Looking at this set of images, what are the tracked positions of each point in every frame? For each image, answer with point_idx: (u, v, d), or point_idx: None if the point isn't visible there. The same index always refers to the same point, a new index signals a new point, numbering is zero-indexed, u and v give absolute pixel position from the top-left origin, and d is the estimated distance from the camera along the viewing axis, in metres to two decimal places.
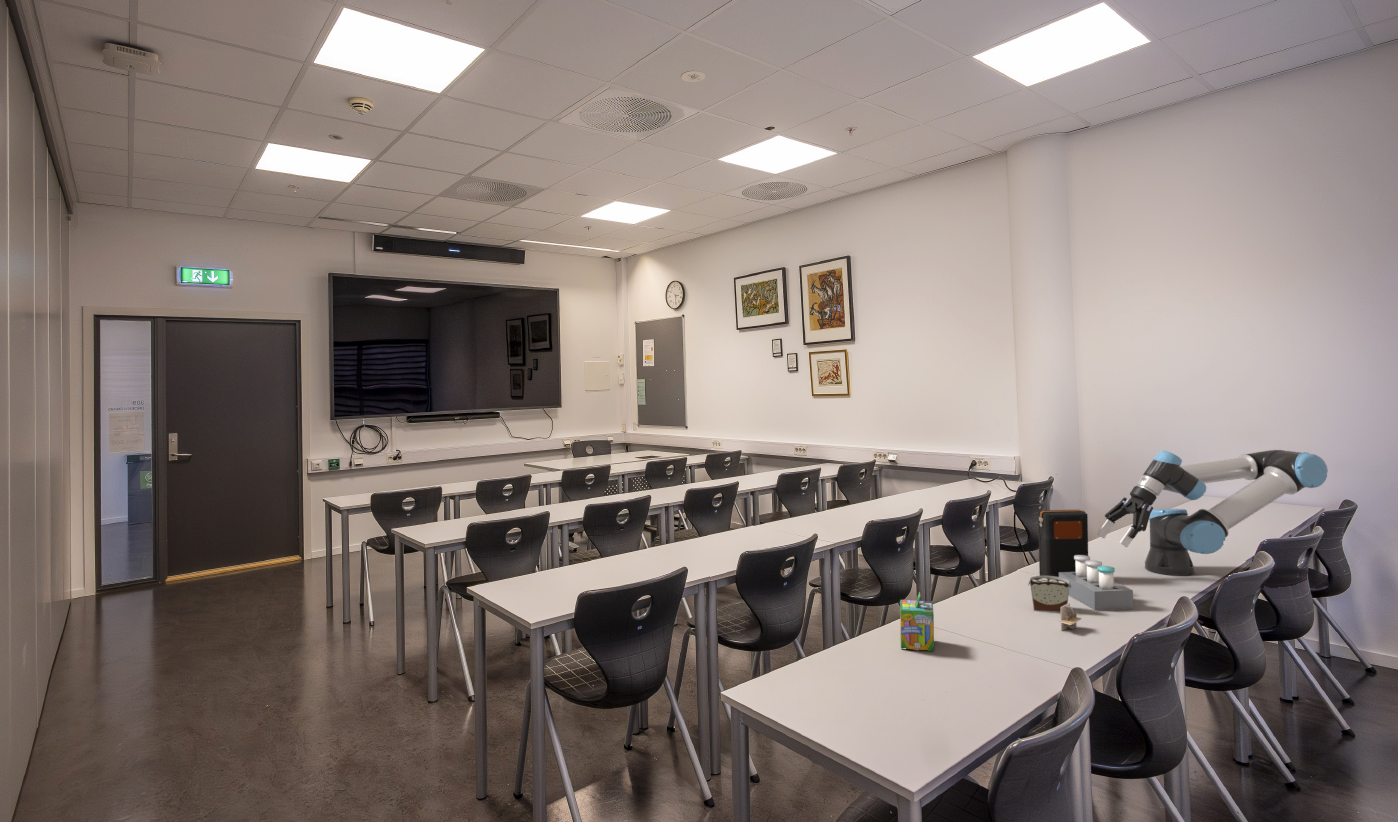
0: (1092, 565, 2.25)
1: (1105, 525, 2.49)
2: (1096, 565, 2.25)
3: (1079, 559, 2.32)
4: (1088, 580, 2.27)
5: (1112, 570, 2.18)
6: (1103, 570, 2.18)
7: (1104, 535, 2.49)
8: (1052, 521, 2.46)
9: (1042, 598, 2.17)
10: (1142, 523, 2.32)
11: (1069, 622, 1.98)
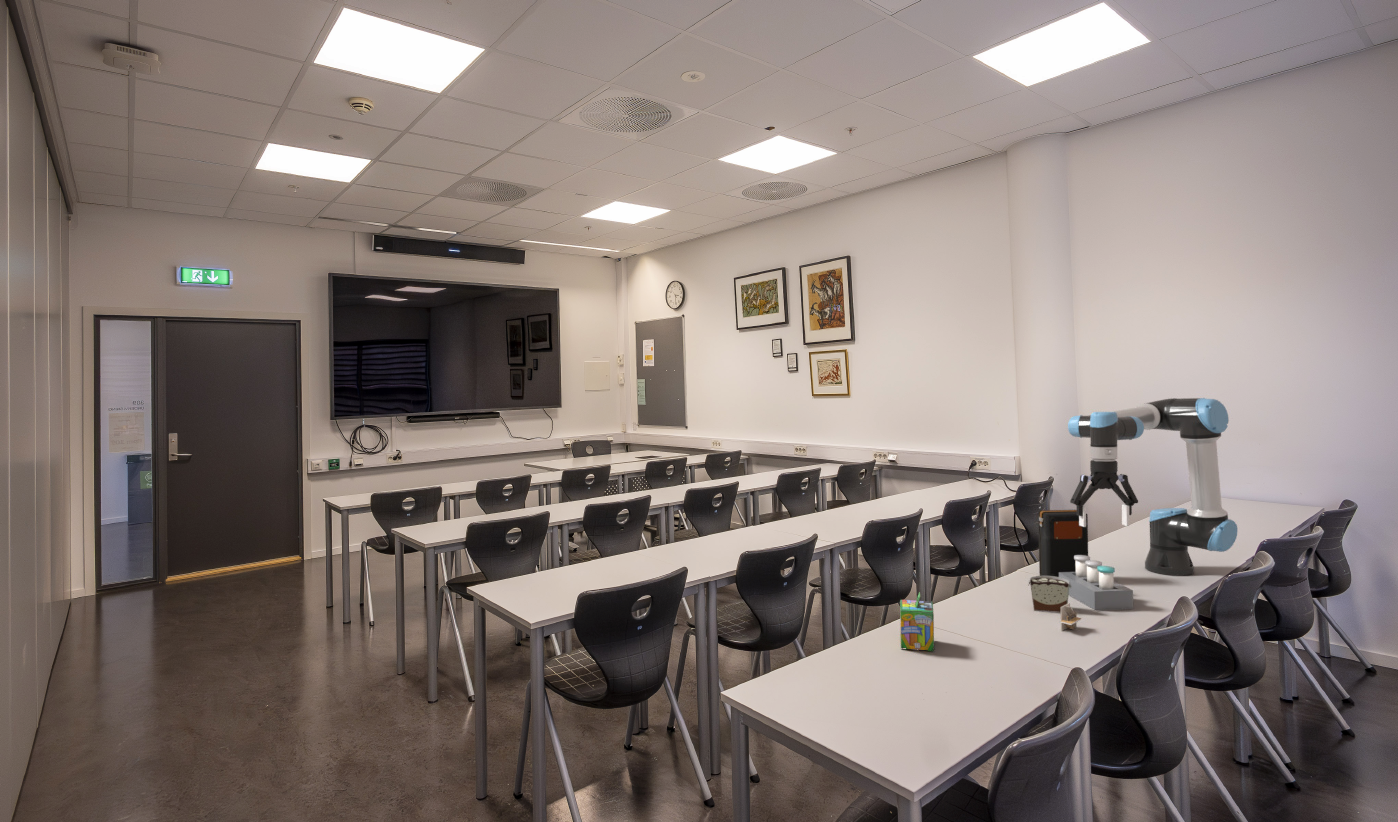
0: (1092, 565, 2.25)
1: None
2: (1096, 565, 2.25)
3: (1079, 559, 2.32)
4: (1088, 580, 2.27)
5: (1112, 570, 2.18)
6: (1103, 570, 2.18)
7: None
8: (1052, 521, 2.46)
9: (1042, 598, 2.17)
10: None
11: (1069, 622, 1.98)
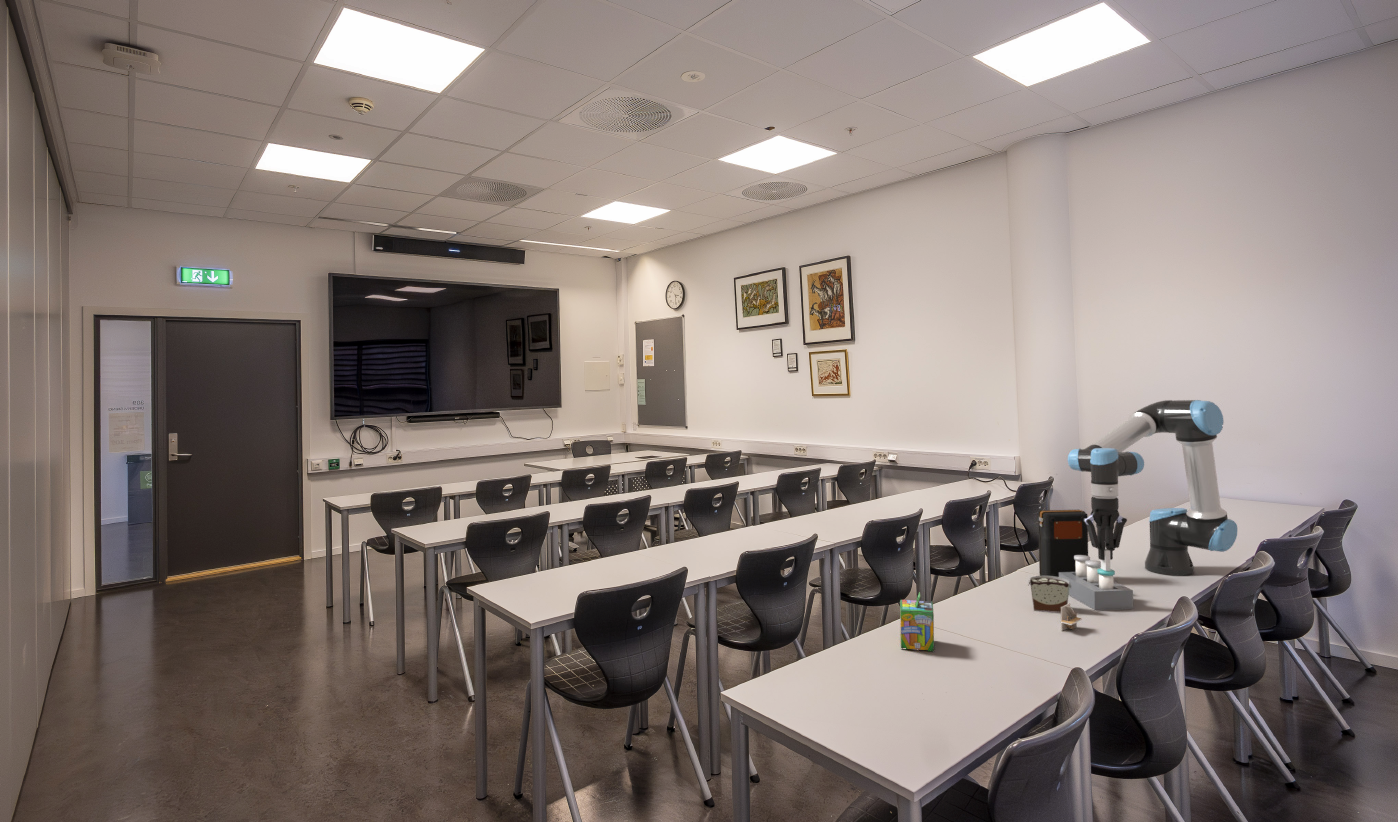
0: (1092, 565, 2.25)
1: None
2: (1096, 565, 2.25)
3: (1079, 559, 2.32)
4: (1088, 580, 2.27)
5: (1112, 573, 2.18)
6: (1103, 573, 2.18)
7: None
8: (1052, 521, 2.46)
9: (1042, 598, 2.17)
10: None
11: (1069, 622, 1.98)
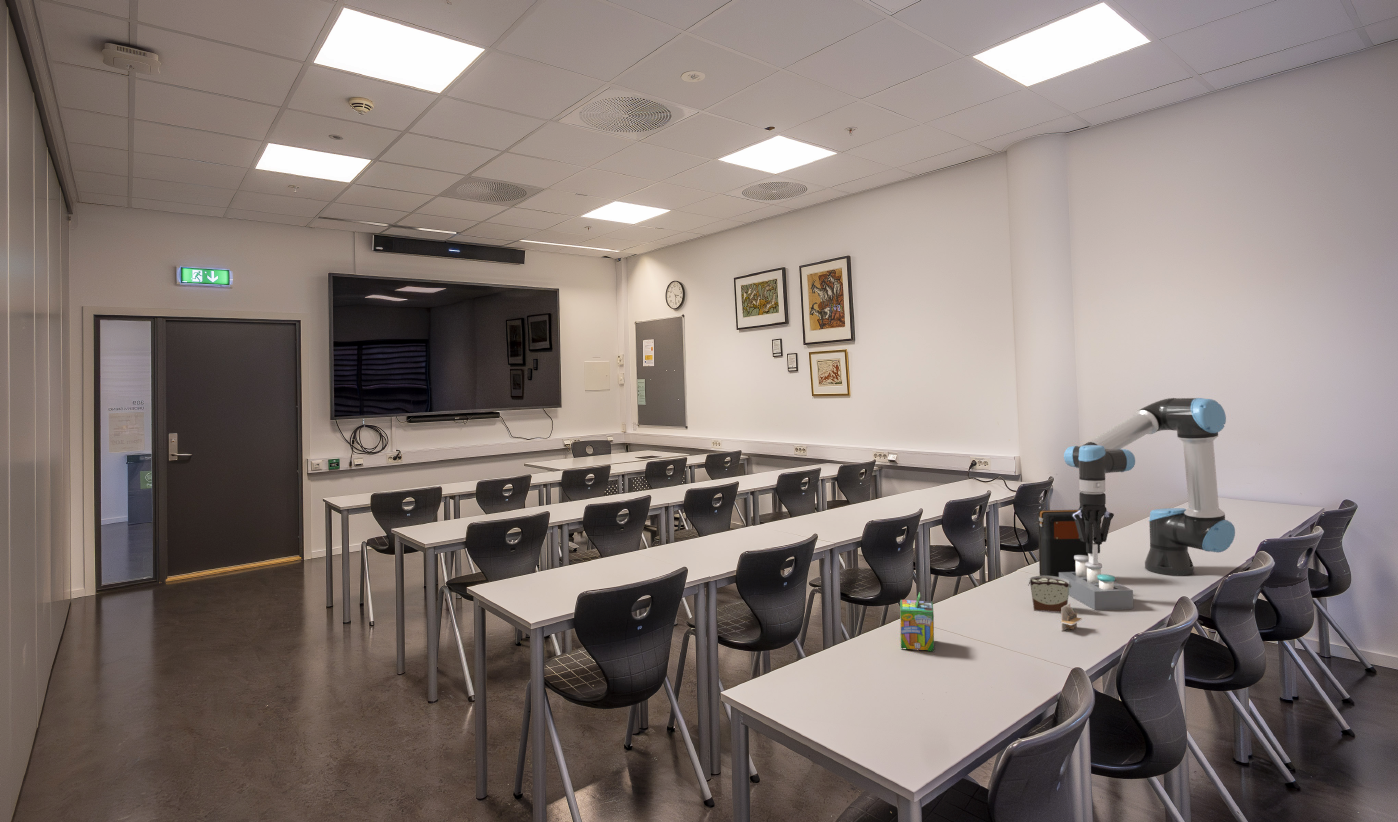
0: (1092, 567, 2.25)
1: None
2: (1096, 567, 2.25)
3: (1079, 559, 2.32)
4: None
5: (1112, 579, 2.18)
6: (1103, 579, 2.18)
7: None
8: (1052, 521, 2.46)
9: (1042, 598, 2.17)
10: None
11: (1070, 622, 1.98)
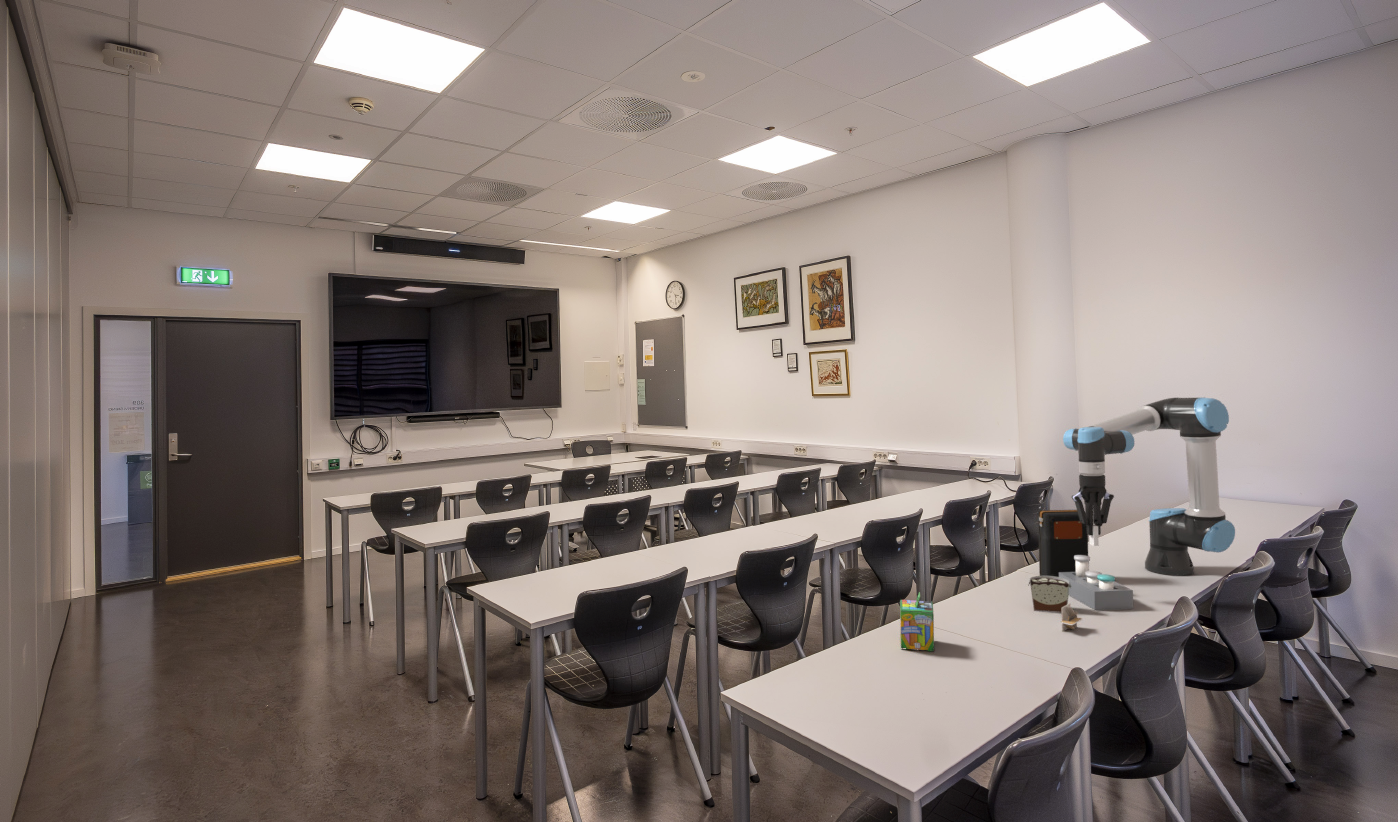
0: (1092, 576, 2.25)
1: None
2: (1096, 576, 2.25)
3: (1079, 559, 2.32)
4: None
5: (1112, 579, 2.18)
6: (1103, 579, 2.18)
7: None
8: (1052, 521, 2.46)
9: (1042, 598, 2.17)
10: None
11: (1070, 622, 1.98)
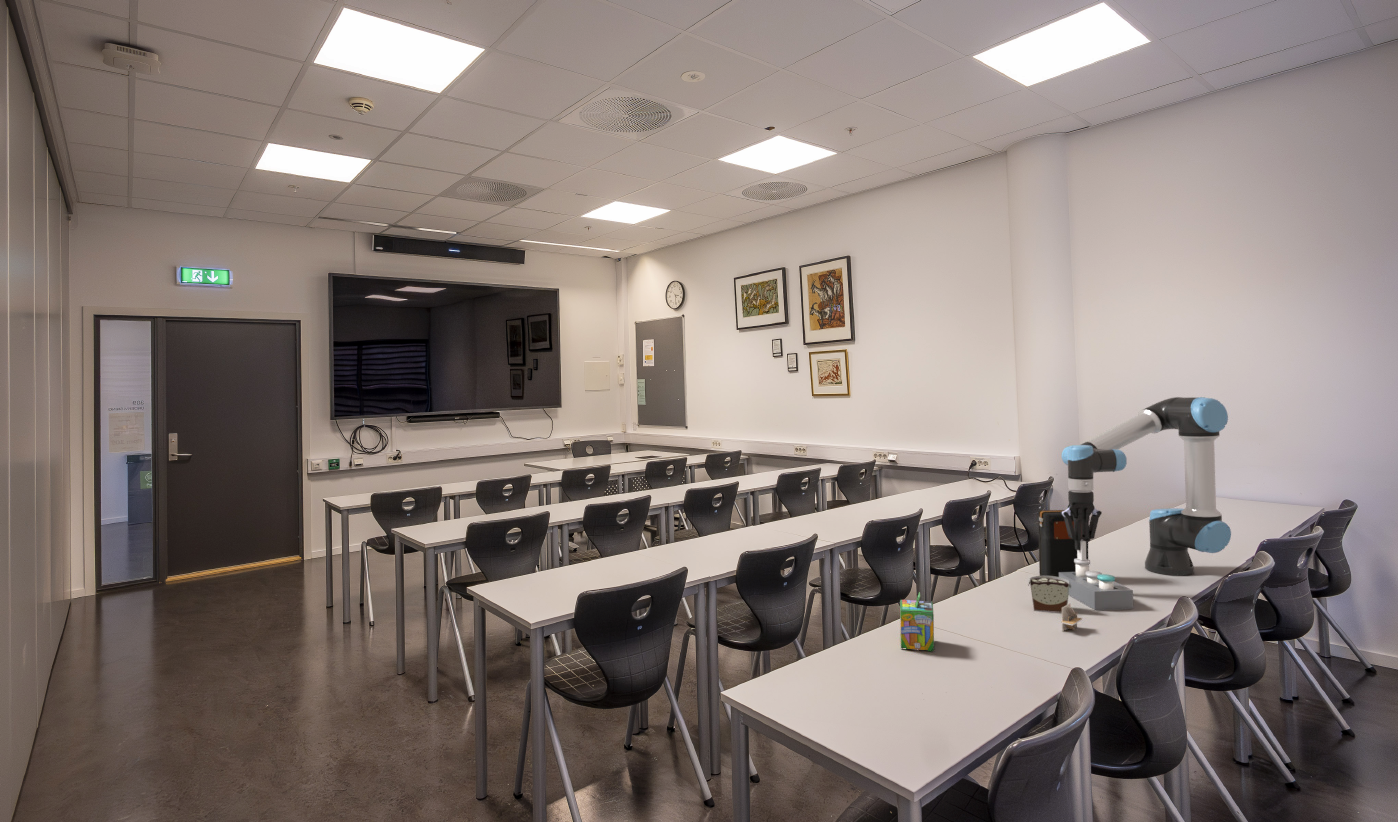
0: (1092, 576, 2.25)
1: None
2: (1096, 576, 2.25)
3: (1079, 562, 2.32)
4: None
5: (1112, 579, 2.18)
6: (1103, 579, 2.18)
7: None
8: (1052, 521, 2.46)
9: (1042, 598, 2.17)
10: None
11: (1070, 623, 1.98)
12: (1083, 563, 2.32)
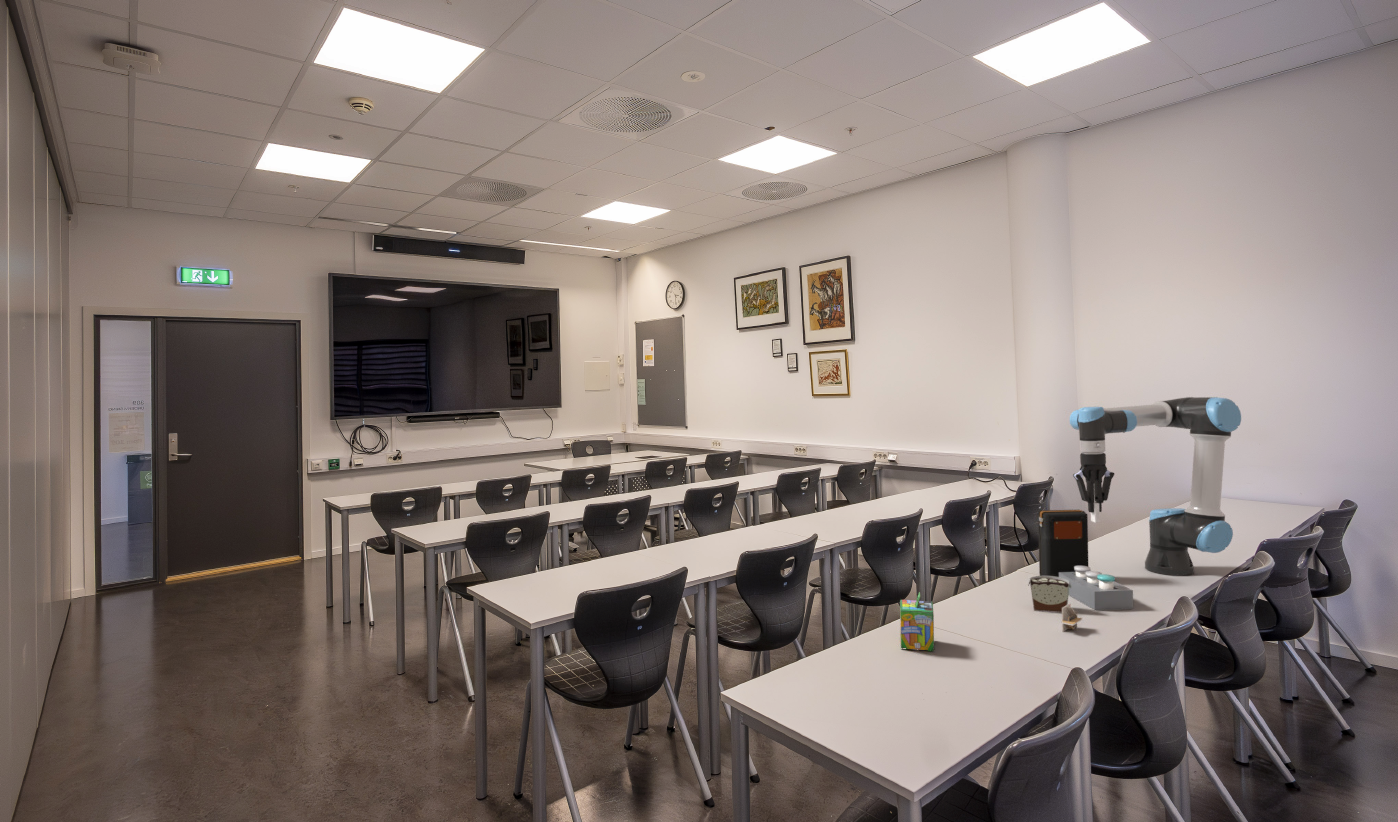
0: (1092, 576, 2.25)
1: None
2: (1096, 576, 2.25)
3: (1079, 570, 2.32)
4: None
5: (1112, 579, 2.18)
6: (1103, 579, 2.18)
7: None
8: (1052, 521, 2.46)
9: (1042, 598, 2.17)
10: None
11: (1071, 623, 1.98)
12: (1083, 570, 2.32)
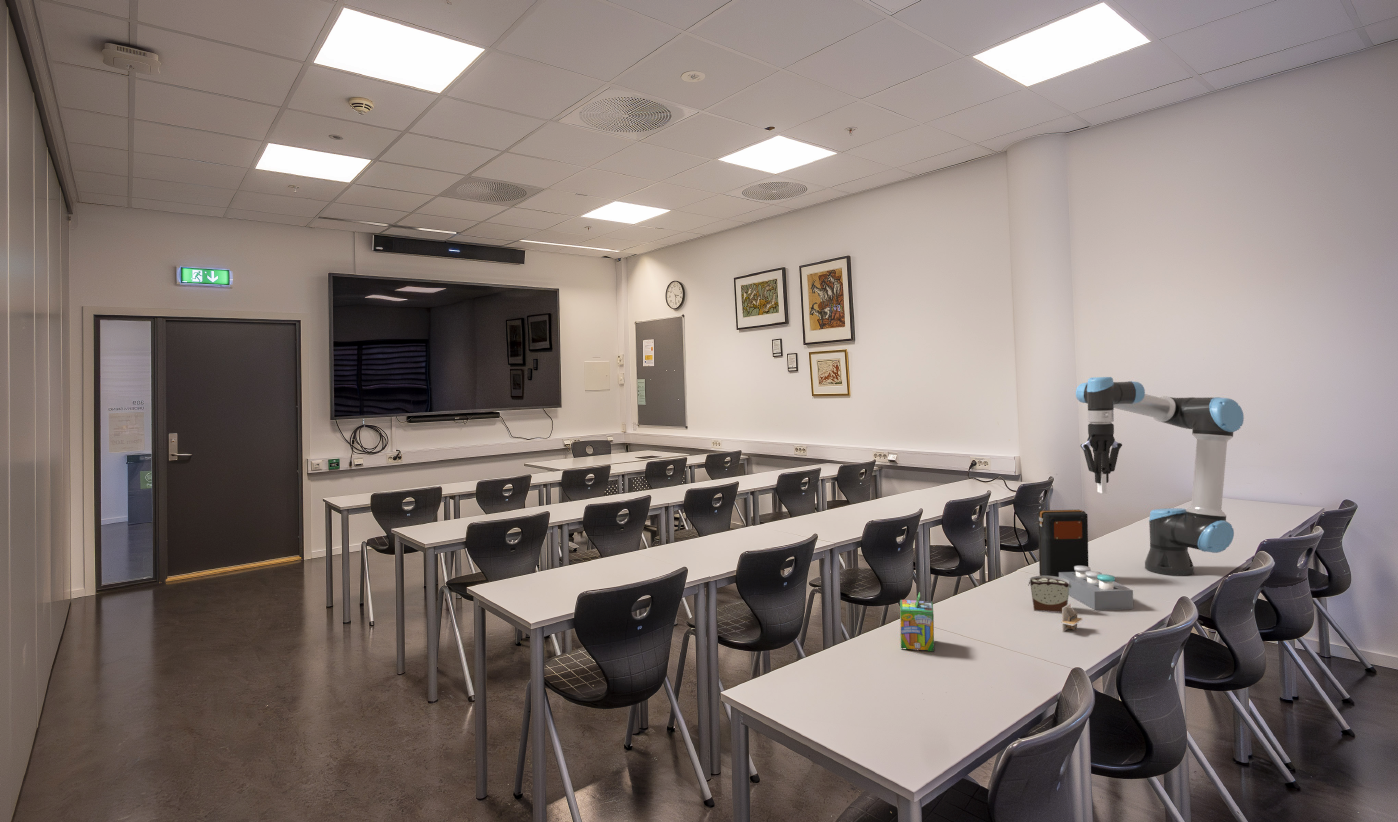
0: (1092, 576, 2.25)
1: None
2: (1096, 576, 2.25)
3: (1079, 570, 2.32)
4: None
5: (1112, 579, 2.18)
6: (1103, 579, 2.18)
7: None
8: (1052, 521, 2.46)
9: (1042, 598, 2.17)
10: None
11: (1071, 623, 1.98)
12: (1083, 570, 2.32)
